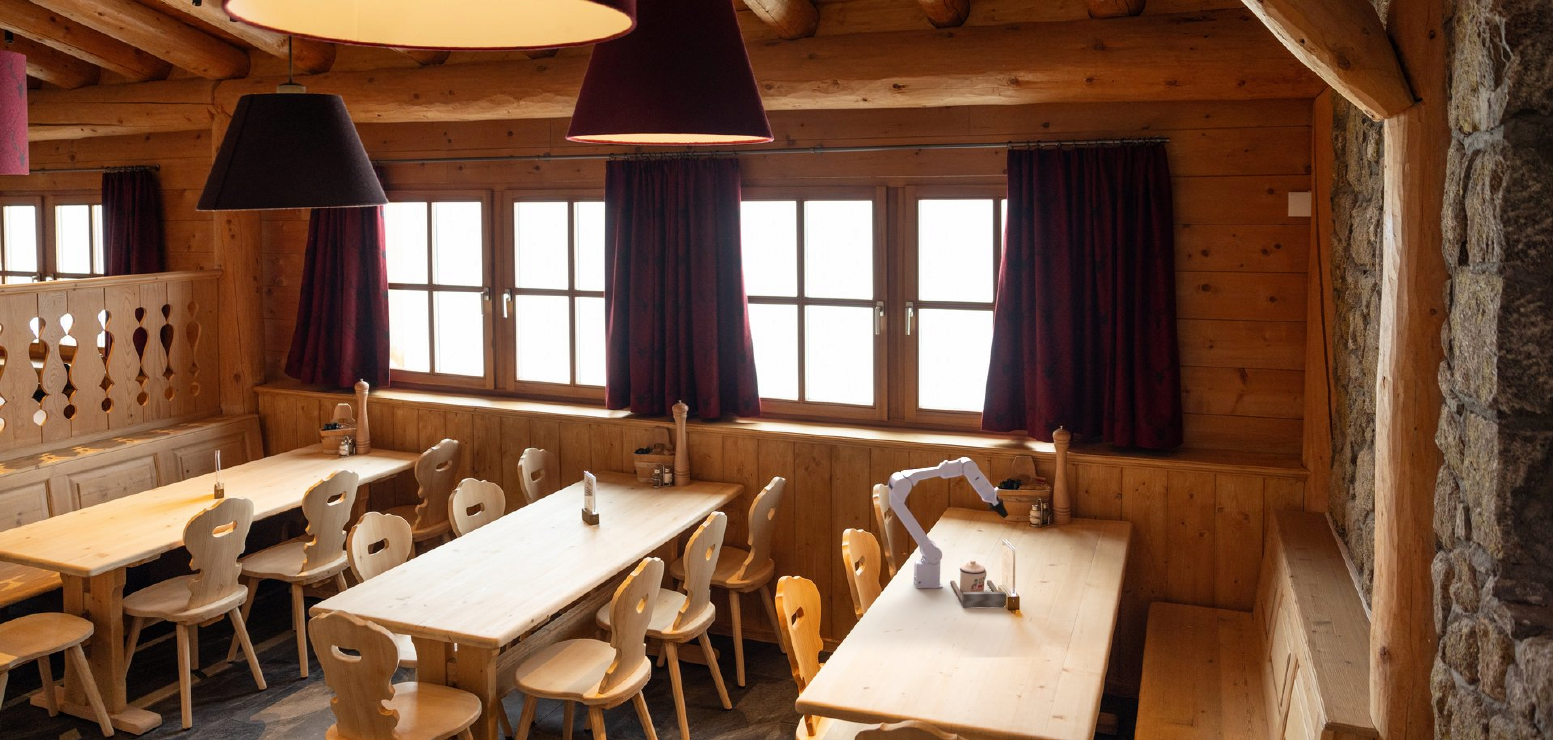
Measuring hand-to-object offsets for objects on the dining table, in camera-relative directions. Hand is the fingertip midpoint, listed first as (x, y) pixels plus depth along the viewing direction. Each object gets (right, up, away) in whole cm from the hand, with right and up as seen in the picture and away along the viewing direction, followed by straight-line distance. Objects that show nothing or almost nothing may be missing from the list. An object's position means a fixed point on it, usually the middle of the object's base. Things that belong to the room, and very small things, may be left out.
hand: (1003, 512), depth 433 cm
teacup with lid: (-11, -28, -5) cm, 30 cm away
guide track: (-11, -28, -9) cm, 32 cm away
